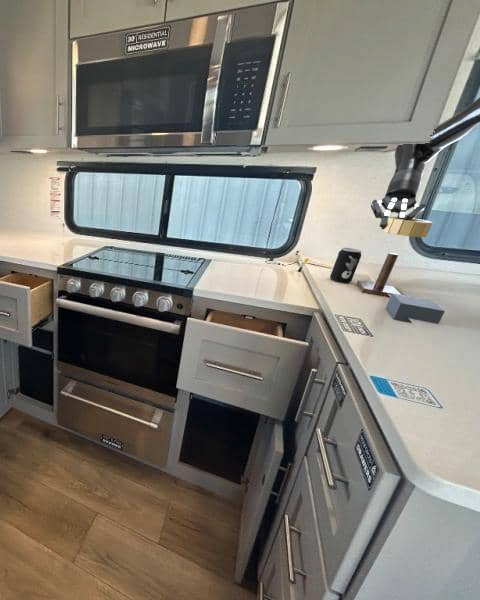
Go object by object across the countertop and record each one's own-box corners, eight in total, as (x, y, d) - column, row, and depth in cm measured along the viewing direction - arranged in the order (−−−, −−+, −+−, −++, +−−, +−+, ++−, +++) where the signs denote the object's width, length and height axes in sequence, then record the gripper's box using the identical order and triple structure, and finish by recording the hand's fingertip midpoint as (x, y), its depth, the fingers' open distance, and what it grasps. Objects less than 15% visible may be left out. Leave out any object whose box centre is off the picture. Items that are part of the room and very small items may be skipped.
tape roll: (425, 234, 105) (432, 220, 103) (426, 238, 98) (433, 223, 96) (383, 228, 111) (389, 215, 109) (382, 232, 104) (387, 218, 102)
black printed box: (332, 282, 121) (344, 250, 117) (326, 276, 127) (337, 246, 122) (353, 284, 120) (366, 252, 115) (346, 279, 125) (358, 248, 121)
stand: (391, 290, 116) (408, 253, 111) (399, 299, 108) (418, 259, 103) (356, 284, 120) (371, 248, 115) (362, 292, 112) (378, 254, 107)
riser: (424, 316, 96) (432, 300, 94) (436, 327, 89) (445, 311, 87) (385, 308, 100) (392, 293, 98) (393, 319, 93) (400, 303, 91)
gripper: (379, 176, 110) (364, 217, 106) (437, 180, 102) (423, 224, 98) (373, 192, 116) (359, 231, 112) (427, 197, 108) (414, 239, 104)
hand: (389, 228), depth 105 cm, fingers closed on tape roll, 2 cm apart
